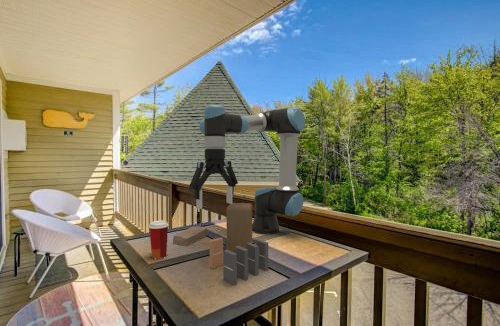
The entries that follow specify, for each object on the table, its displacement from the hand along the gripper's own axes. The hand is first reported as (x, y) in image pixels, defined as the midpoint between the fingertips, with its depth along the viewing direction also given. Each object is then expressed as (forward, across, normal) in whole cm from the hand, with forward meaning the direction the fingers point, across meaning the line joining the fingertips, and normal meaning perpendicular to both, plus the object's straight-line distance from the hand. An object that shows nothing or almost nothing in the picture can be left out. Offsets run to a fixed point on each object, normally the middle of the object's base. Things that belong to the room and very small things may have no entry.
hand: (215, 205), depth 97 cm
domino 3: (+23, -6, +13) cm, 27 cm away
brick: (+23, -8, -32) cm, 40 cm away
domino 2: (+23, -1, +13) cm, 26 cm away
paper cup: (+23, +12, -23) cm, 34 cm away
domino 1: (+23, +4, +13) cm, 27 cm away
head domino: (+23, 0, 0) cm, 23 cm away
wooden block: (+23, -16, -5) cm, 28 cm away
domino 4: (+23, -11, +13) cm, 29 cm away
